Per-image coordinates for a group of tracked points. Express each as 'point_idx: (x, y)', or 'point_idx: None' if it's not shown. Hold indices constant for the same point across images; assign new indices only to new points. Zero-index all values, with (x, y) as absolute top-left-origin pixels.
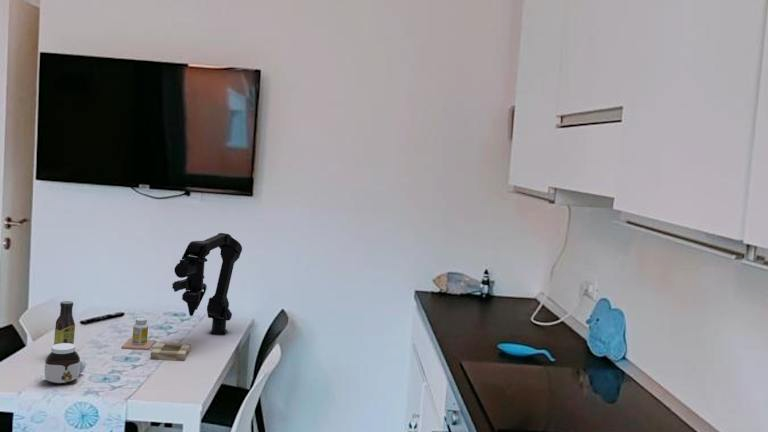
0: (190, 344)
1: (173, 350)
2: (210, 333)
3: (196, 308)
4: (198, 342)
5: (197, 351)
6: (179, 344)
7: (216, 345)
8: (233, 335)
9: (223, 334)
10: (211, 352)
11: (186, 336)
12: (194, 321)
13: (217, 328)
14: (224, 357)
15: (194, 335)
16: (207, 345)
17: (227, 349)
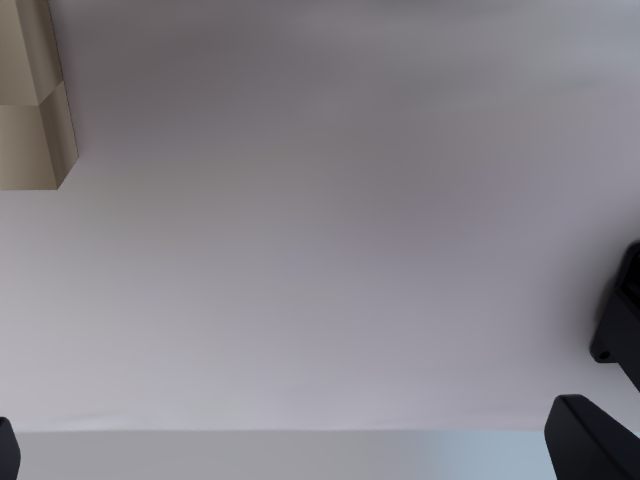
0: (44, 188)
1: None
2: (630, 252)
3: (557, 452)
4: (363, 187)
5: (75, 224)
6: None
7: (297, 337)
8: None
9: (593, 347)
10: (93, 332)
11: (576, 26)
12: None
13: (629, 343)
14: None
15: (607, 109)
16: (283, 275)
17: (211, 415)
